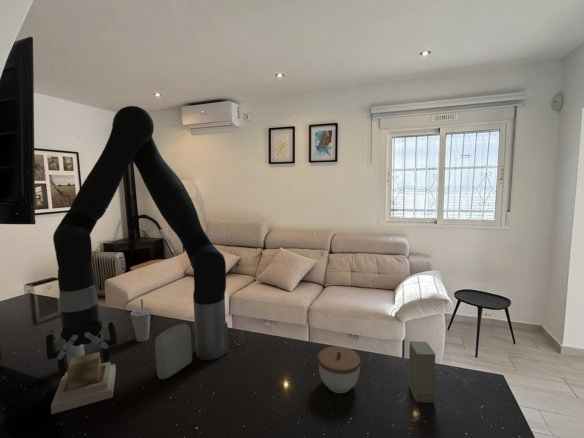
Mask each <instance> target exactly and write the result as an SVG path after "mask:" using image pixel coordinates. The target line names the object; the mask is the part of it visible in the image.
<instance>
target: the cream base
mask: <svg viewBox="0 0 584 438" xmlns="http://www.w3.org/2000/svg"><path fill="white" fill-rule="evenodd" d="M116 367H117V366H116V364H115V363H114V364H113V363H111V361H109V362H108V361H107V362H106V363H104V362H103V363H101V378H100V383H96V384H92V385H88V386H84V387H80V388H76V389H73V390H69V385H68V375H67V372H65V373H64V375H63V376H62V378H61V380H60V382H59V385H58V387H57V390H56V392H55V395H54V397H53V399H52V402H51V405H50V412H51V415H53V414H57V413H61V412H65V411H69V410H72V409H75V408H79V407H82V406H86V405H90V404H93V403H97V402H101V401H104V400H107V399H108V400H109V399H112V398H113V396H114V387H115V380H116V373H117V372H116V371H117V369H116Z"/></svg>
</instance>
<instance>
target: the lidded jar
mask: <svg viewBox="0 0 584 438" xmlns="http://www.w3.org/2000/svg"><path fill="white" fill-rule="evenodd" d="M317 362H318V372H319V376H320V378H321V381H322V382H323V384H324V385H325V386H326V387H327V388H328V390H329V391H331V392H333V393H335V394H345V393H347V392H350V390H351V389H352V388H354V387H355V386H356V384H357V382H358V380H359V377H360V369H361V357H360V355H359V354H358V353H357V352H356V351H354V350H353V349H351V348H348V347H345V346H330V347H329V346H328V347H325V348H324V349H322V350H320V352H319V353H318V355H317Z"/></svg>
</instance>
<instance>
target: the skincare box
mask: <svg viewBox="0 0 584 438" xmlns="http://www.w3.org/2000/svg"><path fill="white" fill-rule="evenodd" d="M408 368H409V371H408V373H409V374H408V375H409V376H408V384H409V385H408V387H409V389H410V392H411V393H412V396H413V398H414V400H415V402H416V403H428V404H429V403H430V404H431V403H432V404H433V403H435V379H436V378H435V376H436V373H435V372H436V353H435V351H434V350H433V349H432V348H431V346H430V345H429V343H428V342H427V341H414V340H413V341H409V364H408Z"/></svg>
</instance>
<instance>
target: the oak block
mask: <svg viewBox="0 0 584 438" xmlns="http://www.w3.org/2000/svg"><path fill="white" fill-rule="evenodd" d="M101 364H102V362H101V353H100V351H99V352H93V353H90V354H89V353H88V354H85V355H84V356H79V357H75V358H72V360H71V362H70V365H69V367H68V369H67V375H68V385H69V390H73V389H76V388H80V387H84V386H88V385H92V384H96V383H100V378H101Z"/></svg>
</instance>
